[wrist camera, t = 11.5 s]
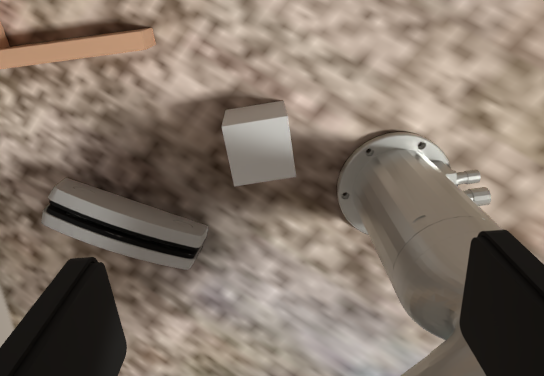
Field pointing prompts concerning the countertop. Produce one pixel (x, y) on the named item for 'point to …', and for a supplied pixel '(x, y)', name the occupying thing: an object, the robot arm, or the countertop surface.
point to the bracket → (73, 47)
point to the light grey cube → (258, 143)
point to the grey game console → (123, 225)
